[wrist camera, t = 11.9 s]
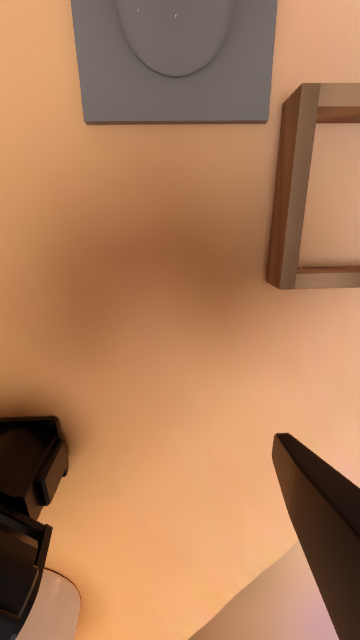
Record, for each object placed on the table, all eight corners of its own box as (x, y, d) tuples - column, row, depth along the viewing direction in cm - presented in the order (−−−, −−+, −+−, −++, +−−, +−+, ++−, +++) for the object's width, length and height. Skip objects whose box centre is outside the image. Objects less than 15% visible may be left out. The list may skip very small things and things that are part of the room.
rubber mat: (86, 124, 16) (84, 121, 16) (56, -152, 13) (51, -166, 12) (265, 123, 17) (268, 120, 16) (285, -146, 13) (290, -160, 13)
